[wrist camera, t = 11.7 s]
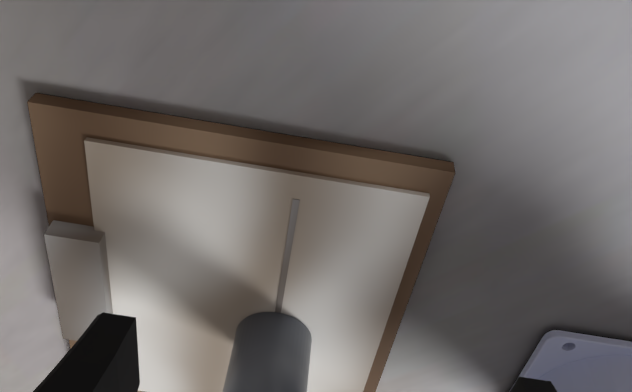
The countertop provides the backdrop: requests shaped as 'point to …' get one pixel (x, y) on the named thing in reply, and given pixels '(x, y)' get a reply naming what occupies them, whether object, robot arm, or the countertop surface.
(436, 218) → the clipboard
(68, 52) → the countertop surface
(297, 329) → the cylinder
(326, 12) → the countertop surface
